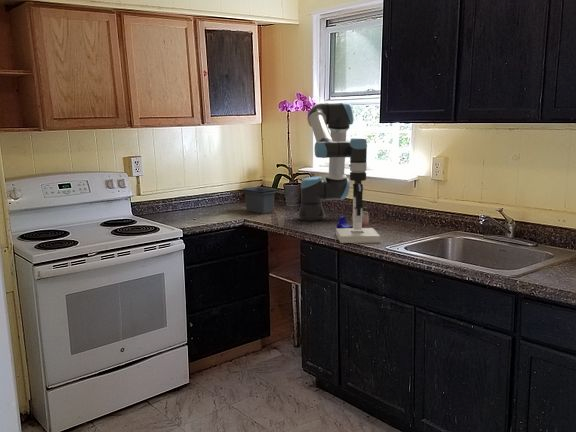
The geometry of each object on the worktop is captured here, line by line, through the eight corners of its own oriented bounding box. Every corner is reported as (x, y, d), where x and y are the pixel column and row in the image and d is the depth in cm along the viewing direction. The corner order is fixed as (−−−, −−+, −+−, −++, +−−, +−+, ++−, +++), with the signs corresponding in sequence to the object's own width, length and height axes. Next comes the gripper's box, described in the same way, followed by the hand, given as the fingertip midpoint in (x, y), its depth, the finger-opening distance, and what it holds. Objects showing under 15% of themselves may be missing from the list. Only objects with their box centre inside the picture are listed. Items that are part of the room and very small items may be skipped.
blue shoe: (336, 229, 284) (337, 217, 283) (342, 227, 287) (343, 216, 286) (354, 232, 275) (354, 220, 274) (360, 231, 278) (360, 219, 277)
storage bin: (240, 211, 339) (239, 187, 336) (260, 208, 349) (259, 185, 346) (261, 215, 323) (261, 191, 320) (282, 212, 333) (281, 188, 330)
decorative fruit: (370, 227, 286) (371, 208, 285) (367, 230, 279) (367, 210, 277) (353, 226, 289) (353, 207, 288) (349, 229, 282) (349, 209, 280)
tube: (360, 230, 258) (360, 198, 255) (351, 229, 259) (351, 197, 257) (363, 228, 261) (363, 196, 259) (354, 227, 263) (354, 196, 261)
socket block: (336, 234, 270) (336, 228, 269) (372, 234, 270) (372, 227, 270) (340, 242, 252) (340, 236, 252) (379, 242, 253) (379, 235, 252)
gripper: (347, 169, 264) (347, 218, 268) (352, 173, 247) (352, 225, 251) (363, 169, 264) (362, 217, 268) (369, 173, 247) (368, 224, 251)
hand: (357, 221), depth 260 cm, fingers closed on tube, 4 cm apart
